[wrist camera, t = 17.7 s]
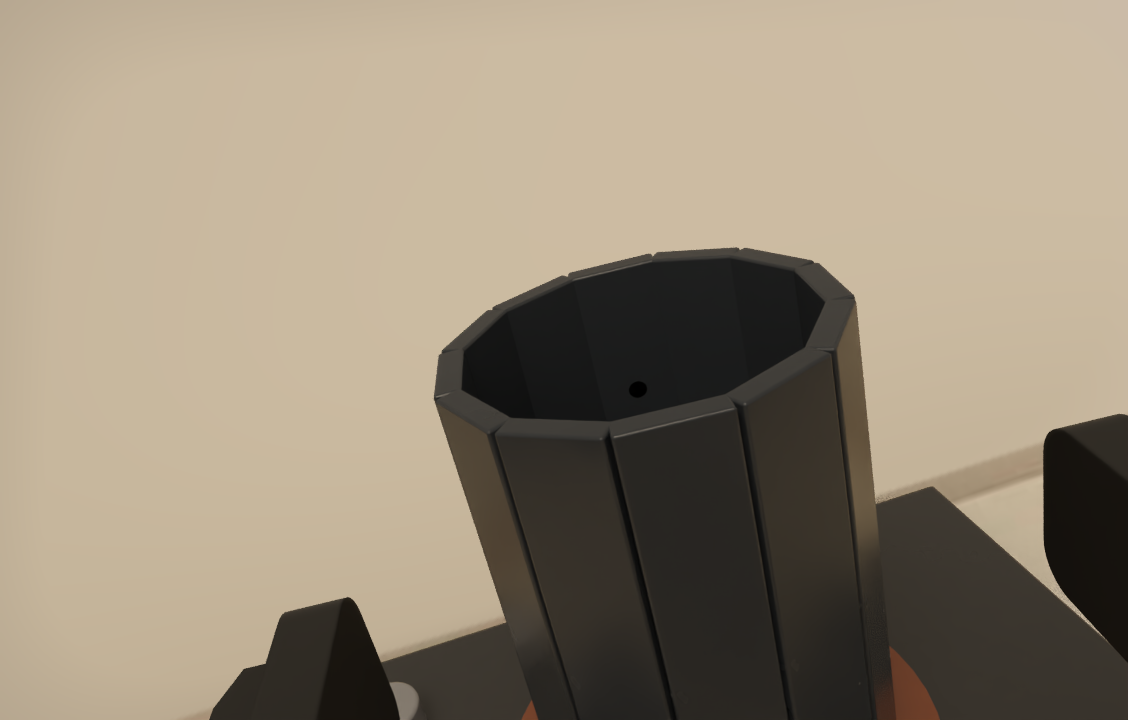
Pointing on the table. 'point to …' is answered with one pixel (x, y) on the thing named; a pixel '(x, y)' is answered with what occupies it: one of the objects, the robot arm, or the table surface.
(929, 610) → the stove
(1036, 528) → the table surface
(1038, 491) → the table surface
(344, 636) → the robot arm
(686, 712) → the pot
